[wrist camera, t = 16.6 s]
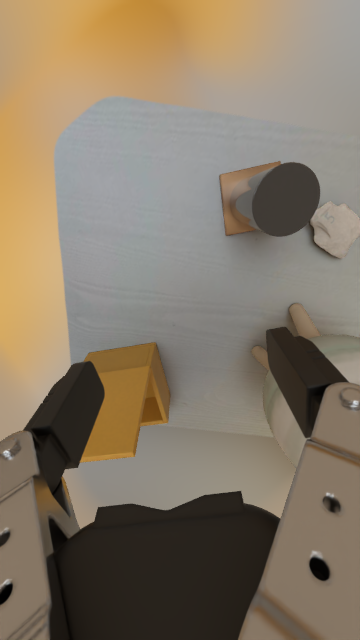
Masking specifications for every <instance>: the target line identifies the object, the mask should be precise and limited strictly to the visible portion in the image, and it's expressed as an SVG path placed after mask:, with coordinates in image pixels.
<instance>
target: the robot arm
mask: <svg viewBox="0 0 360 640" xmlns="http://www.w3.org/2000/svg"><path fill="white" fill-rule="evenodd" d="M266 339H267V356H268V364H269V368H270V371H271V373H272V375H273V377H274V379H275V381H276V383H277V385H278V387H279V389H280V391H281V392H282V394H283V396H284V398H285V400H286V402H287V404H288V406H289V408H290V410H291V412H292V414H293V416H294V418H295V419H296V421H297V423H298V425H299V427H300V429H301V431H302V433H303V435H304V437H305V438H310V439H307V440H306V442H305V444H304V447H303V450H302V453H301V456H300V459H299V463H298V466H297V469H296V472H295V475H294V478H293V482H292V485H291V488H290V491H289V494H288V497H287V500H286V503H285V507H284V510H283V513H282V516H281V519H280V518H278V517H277V516H275V515H274V514H272V513H270V512H268V511H266V510H264V509H262V508H259V507H256V506H254V505H250V504H245V503H243V498H242V494H241V491H237V492H228V493H219V494H211V495H204V496H201V497H199V498H197V499H194V500H192V501H190V502H187V503H185V504H182V505H180V506H178V507H175V508H173V509H171V510H159V509H155V508H150V507H145V506H141V505H136V504H123V505H115V506H106V507H98V510H97V513H96V517H95V521H94V522H93V523H90V524H89V525H87V526H85V527H84V528H82V529H81V530H80V528H79V525H78V523H77V520H76V517H75V513H74V510H73V506H72V503H71V500H70V496H69V492H68V489H67V486H66V482H65V480H64V478H63V477H62V475H63V473H64V470H65V469H70V468H78V465H79V463H80V460H81V458H82V455H83V453H84V450H85V447H86V445H87V442H88V440H89V437H90V434H91V432H92V429H93V427H94V424H95V421H96V419H97V416H98V414H99V411H100V408H101V406H102V403H103V401H104V397H105V390H104V386H103V384H102V382H101V379H100V377H99V375H98V373H97V371H96V369H95V367H94V364H93V363H92V362H91V361H86V362H81V363H75V364H73V365H72V366H71V367H70V369H69V370H68V372H67V373H66V375H65V376H63V377H62V378H61V379H60V380H59V381H58V382H57V383H56V384H55V385H54V386H53V387H52V389H51V390H50V392H49V393H48V396H46V398H45V399H44V401H43V403H42V404H41V405H40V406H39V408H38V409H37V411H36V412H35V414H34V415H33V417H32V418H31V419H30V421H29V423H28V424H27V425H26V427H25V428H24V430H23V431H19V432H16V433H13V434H12V435H10V436H8V437H6V438H5V439H3V440H2V441H1V442H0V640H360V385H358V384H355V383H350V382H349V381H348V380H347V379H346V378H345V377H344V376H343V375H342V374H341V373H340V371H339V370H338V369H337V368H336V367H335V366H334V365H333V364H332V363H331V362H330V361H329V359H328V358H326V357H325V355H324V354H323V353H322V352H321V351H319V349H318V347H317V346H316V345H315V344H314V343H313V342H312V341H310V340H308V339H306V338H304V337H302V336H297V337H294V336H293V335H292V334H291V333H290V331H289V330H288V329H287V328H286V327H280V328H275V329H269V330H267V331H266Z"/></svg>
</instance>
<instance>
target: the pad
mask: <svg viewBox="0 0 360 640" xmlns="http://www.w3.org/2000/svg"><path fill="white" fill-rule="evenodd" d="M278 165H281V162H280V161H278V162H274V163H269V164H265V165H261V166H256V167H252V168H247V169H243V170H239V171H234V172H230V173H225V174H221V175H220V176H219V177H220V186H221V195H222V205H223V214H224V224H225V233H226V235H227V236H228V235H233V234H238V233H243V232H248V231H253V230H257V229H254V228H252V227H250V226H247V225H245V224H242V223H240V222H239V221H237V220H236V219H235V218H234V216H233V215H232V213H231V210H230V196H231V193H232V191H233V189H234V187H235V186H236V185H237V184H238V183H239V182H240V181H241V180H242V179H244V178H246V177H248V176H251V175H254V174H256V173H259V172H262V171H264V170H267V169H270V168H273V167H275V166H278Z"/></svg>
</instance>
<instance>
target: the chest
mask: <svg viewBox="0 0 360 640" xmlns="http://www.w3.org/2000/svg"><path fill="white" fill-rule="evenodd" d="M86 361H91V362H92V363H93V364H94V367H95V369H96V371H97V373H104V372H111V371H118V370H125V369H131V368H138V367H145V366H150V369H151V371H150V376H149V382H148V387H147V393H146V398H145V404H144V409H143V414H142V420H141V425H140V426H147V425H155V424H163V423H168V419H169V406H170V392H169V388H168V385H167V381H166V378H165V374H164V371H163V367H162V363H161V360H160V356H159V353H158V349H157V346H156V342H154V343H148V344H141V345H135V346H129V347H123V348H116V349H110V350H104V351H97V352H91V353H88V355H87V357H86V358H85V360H84V361H83V362H86Z"/></svg>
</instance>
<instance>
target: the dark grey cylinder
mask: <svg viewBox="0 0 360 640" xmlns="http://www.w3.org/2000/svg"><path fill="white" fill-rule="evenodd" d="M319 199H320V186H319V182H318V179H317V177H316V175H315V174H314V172H313V171H312V170H311V169H310V168H308V167H307V166H305V165H303V164H300V163H295V162H289V163H284V164H281V165H278V166H275V167H273V168H270V169H267V170H264V171H262V172H259V173H256V174H254V175H251V176H248V177H246V178H244V179H242V180H241V181H240V182H239V183H238V184H237V185H236V186H235V187H234V189H233V191H232V193H231V196H230V210H231V213H232V215H233V216H234V218H235V219H236V220H237V221H239V222H240V223H242V224H245V225H247V226H250V227H252V228H254V229H257V230H259V231H261V232H264V233H266V234H269V235H272V236H277V237H281V236H287V235H291V234H293V233H295V232H297V231H299V230H300V229H302V228H303V227H304V226H305V225H306V224H307V223H308V222H309V221H310V219H311V218H312V217H313V215H314V213H315V211H316V209H317V207H318V203H319Z"/></svg>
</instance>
